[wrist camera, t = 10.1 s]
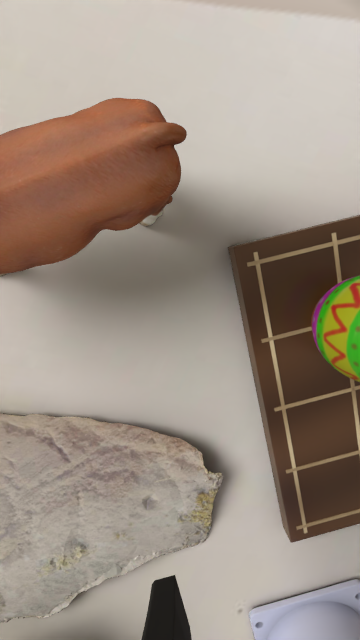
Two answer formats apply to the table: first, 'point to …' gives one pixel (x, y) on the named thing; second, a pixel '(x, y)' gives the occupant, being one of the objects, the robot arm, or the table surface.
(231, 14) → the table surface
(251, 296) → the board
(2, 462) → the decorative stone
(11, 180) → the bull figurine
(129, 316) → the table surface
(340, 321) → the egg
